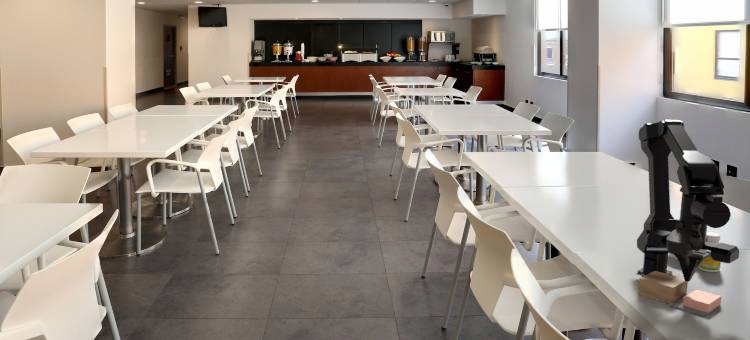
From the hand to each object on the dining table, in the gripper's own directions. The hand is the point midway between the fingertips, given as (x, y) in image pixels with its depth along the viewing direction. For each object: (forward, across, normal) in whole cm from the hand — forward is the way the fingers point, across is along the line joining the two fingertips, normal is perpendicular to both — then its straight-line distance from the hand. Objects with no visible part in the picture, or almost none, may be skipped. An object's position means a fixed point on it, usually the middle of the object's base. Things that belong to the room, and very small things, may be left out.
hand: (687, 281), depth 150 cm
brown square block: (+5, -6, 0) cm, 7 cm away
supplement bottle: (+5, -5, +27) cm, 28 cm away
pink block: (+3, +4, 0) cm, 5 cm away
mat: (+5, +3, -1) cm, 6 cm away
